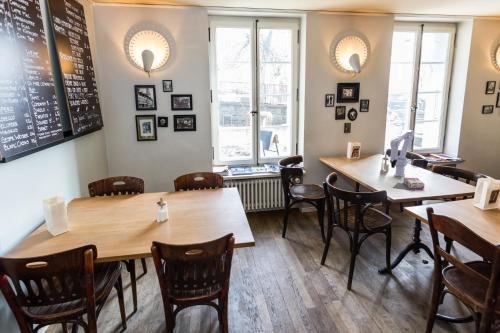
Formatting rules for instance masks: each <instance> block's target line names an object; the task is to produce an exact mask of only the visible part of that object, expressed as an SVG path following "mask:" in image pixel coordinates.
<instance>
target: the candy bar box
mask: <svg viewBox="0 0 500 333" xmlns="http://www.w3.org/2000/svg"><path fill="white" fill-rule="evenodd" d="M402 180H403V181H402V183H404V184H405V185H406V186H408V187H409V188H410V189H415V190H416V189H419V190H422V189H423V190H424V189H425V182H424V181H422V180H420V179H419V178H418V177H403V179H402Z"/></svg>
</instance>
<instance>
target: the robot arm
mask: <svg viewBox="0 0 500 333" xmlns="http://www.w3.org/2000/svg"><path fill="white" fill-rule="evenodd" d="M400 132H401V133H400V135H397V136H396V137H395V138H394V139H391V140H390V156H389V157H388V159H389V162H390V165H391V168H392V169H395V174H394V175H393V176H395V177H400V178H402V177H403V178H405V177H404V176H406V173H405V167H407V164H408V159H407V158H408V157H406V155H407V154H408V150H409V147H410V143H411V141H412V140H413V139H414V136H415V130H413V129H401V131H400ZM403 140H404V142H403V144H402V147H401V150H400V154H399V146H400V145H401V142H402V141H403ZM398 154H399V155H398Z"/></svg>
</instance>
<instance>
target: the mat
mask: <svg viewBox="0 0 500 333" xmlns="http://www.w3.org/2000/svg"><path fill="white" fill-rule="evenodd" d="M392 188H393V189H400V190H406V191H412V192H414V191H416V189H410V188H409V187H408V186H406V185H405V184H404V183H403V182H397V183H395V185H394V186H393V187H392Z"/></svg>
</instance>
